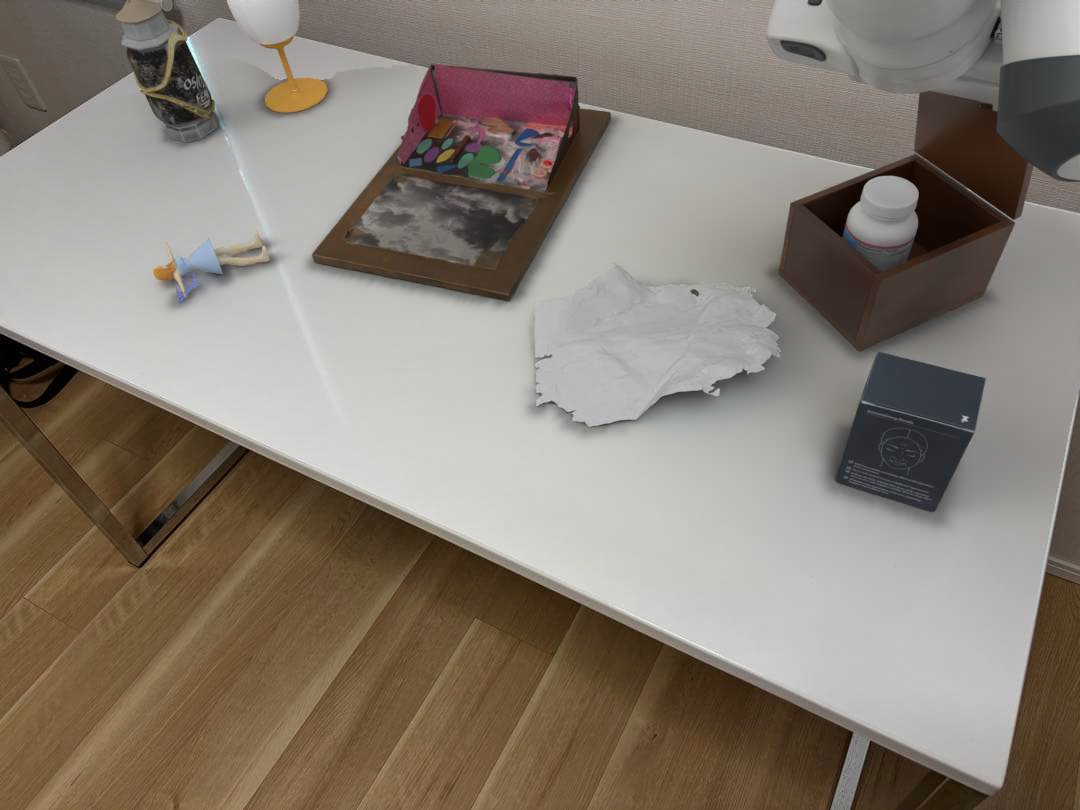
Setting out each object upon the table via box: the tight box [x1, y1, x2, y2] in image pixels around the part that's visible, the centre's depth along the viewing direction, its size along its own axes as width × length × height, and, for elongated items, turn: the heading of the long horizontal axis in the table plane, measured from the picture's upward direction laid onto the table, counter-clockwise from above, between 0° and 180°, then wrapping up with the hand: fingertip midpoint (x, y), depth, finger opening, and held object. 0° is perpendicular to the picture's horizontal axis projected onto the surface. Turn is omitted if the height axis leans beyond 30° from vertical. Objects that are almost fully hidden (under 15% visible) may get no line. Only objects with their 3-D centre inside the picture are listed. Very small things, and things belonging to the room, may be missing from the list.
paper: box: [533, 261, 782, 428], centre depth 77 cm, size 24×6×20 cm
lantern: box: [115, 0, 219, 143], centre depth 103 cm, size 9×8×25 cm
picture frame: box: [311, 63, 612, 301], centre depth 94 cm, size 24×35×8 cm
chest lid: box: [913, 91, 1035, 221], centre depth 69 cm, size 16×13×5 cm
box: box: [835, 351, 987, 513], centre depth 63 cm, size 8×6×11 cm
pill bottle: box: [842, 176, 919, 272], centre depth 75 cm, size 6×6×11 cm
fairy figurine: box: [152, 230, 271, 304], centre depth 90 cm, size 12×5×12 cm
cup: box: [226, 0, 329, 114], centre depth 109 cm, size 9×9×16 cm
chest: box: [777, 153, 1016, 352], centre depth 77 cm, size 15×13×9 cm
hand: (927, 85), depth 61 cm, fingers open, 8 cm apart
